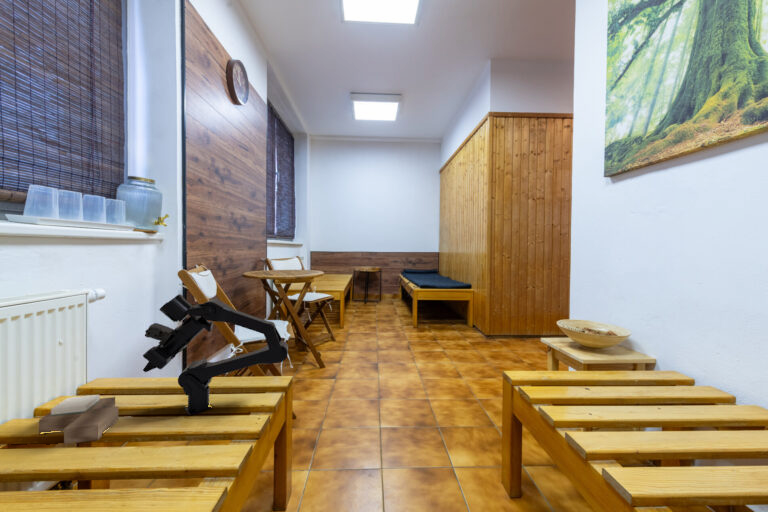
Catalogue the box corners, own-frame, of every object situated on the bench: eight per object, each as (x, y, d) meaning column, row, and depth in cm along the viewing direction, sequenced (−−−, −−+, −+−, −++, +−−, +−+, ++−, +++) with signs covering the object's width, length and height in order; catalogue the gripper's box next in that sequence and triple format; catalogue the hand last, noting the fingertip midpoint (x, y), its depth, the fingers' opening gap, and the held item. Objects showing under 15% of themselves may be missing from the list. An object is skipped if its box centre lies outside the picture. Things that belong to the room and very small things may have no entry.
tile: (99, 394, 91) (67, 397, 88) (85, 405, 84) (51, 408, 82) (99, 401, 91) (67, 404, 88) (85, 412, 84) (51, 415, 82)
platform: (130, 408, 94) (130, 395, 94) (98, 439, 79) (98, 424, 79) (66, 415, 90) (66, 401, 90) (17, 450, 74) (17, 434, 74)
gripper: (176, 308, 101) (137, 344, 98) (152, 321, 83) (102, 364, 80) (203, 331, 104) (165, 366, 101) (184, 347, 86) (137, 390, 83)
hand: (144, 370), depth 91 cm, fingers closed
